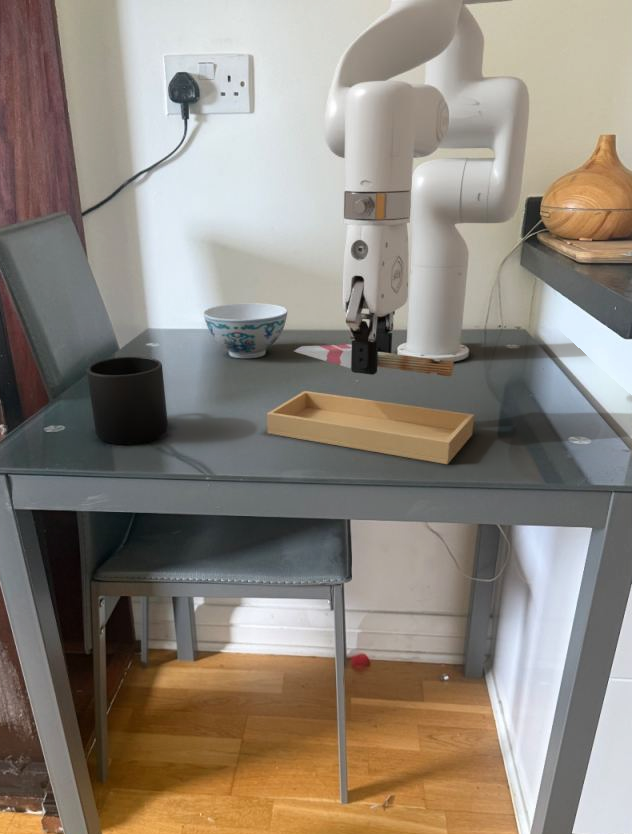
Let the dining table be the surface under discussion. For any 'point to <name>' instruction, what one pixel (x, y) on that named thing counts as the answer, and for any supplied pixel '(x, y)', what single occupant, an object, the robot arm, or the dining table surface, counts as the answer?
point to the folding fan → (386, 360)
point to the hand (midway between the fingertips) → (371, 366)
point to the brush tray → (373, 426)
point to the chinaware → (246, 327)
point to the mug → (128, 399)
